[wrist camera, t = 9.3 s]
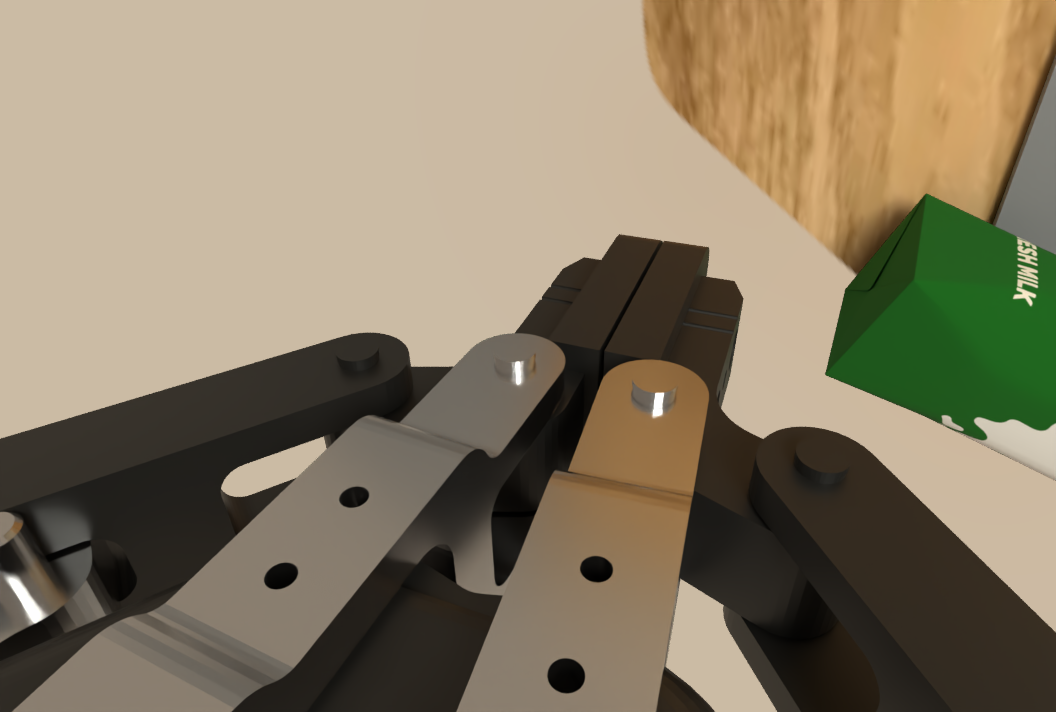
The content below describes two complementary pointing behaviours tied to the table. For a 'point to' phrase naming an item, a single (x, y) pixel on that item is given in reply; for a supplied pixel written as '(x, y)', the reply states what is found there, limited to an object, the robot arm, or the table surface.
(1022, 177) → the mat
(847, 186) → the table surface
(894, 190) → the table surface
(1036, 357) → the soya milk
